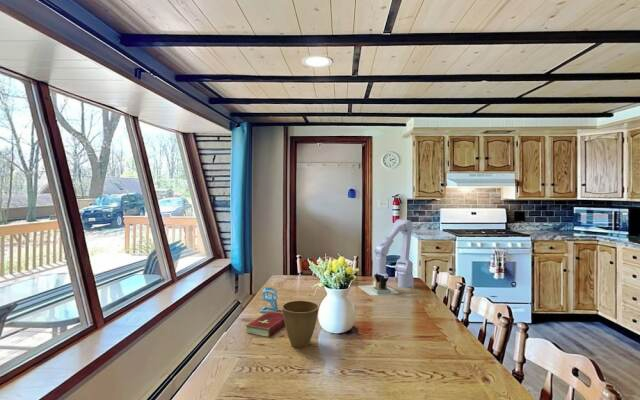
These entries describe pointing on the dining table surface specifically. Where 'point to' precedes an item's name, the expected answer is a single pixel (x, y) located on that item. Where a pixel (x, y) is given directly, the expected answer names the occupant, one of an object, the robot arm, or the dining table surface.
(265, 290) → the chair
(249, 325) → the hardcover book
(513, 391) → the dining table surface
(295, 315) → the plant pot
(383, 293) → the packing board
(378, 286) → the walnut block
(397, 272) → the robot arm
